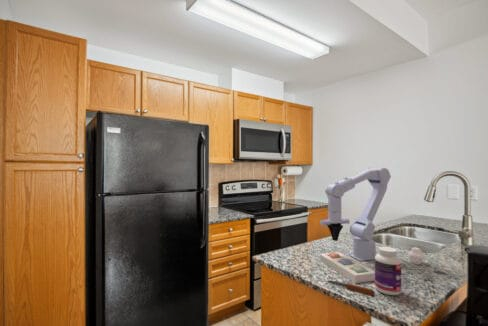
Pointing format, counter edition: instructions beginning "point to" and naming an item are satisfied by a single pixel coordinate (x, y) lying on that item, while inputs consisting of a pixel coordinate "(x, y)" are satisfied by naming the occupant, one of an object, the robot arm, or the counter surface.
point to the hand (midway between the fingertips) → (335, 240)
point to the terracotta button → (334, 255)
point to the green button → (358, 269)
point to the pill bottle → (388, 271)
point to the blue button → (346, 262)
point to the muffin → (416, 255)
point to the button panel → (348, 268)
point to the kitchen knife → (354, 288)
